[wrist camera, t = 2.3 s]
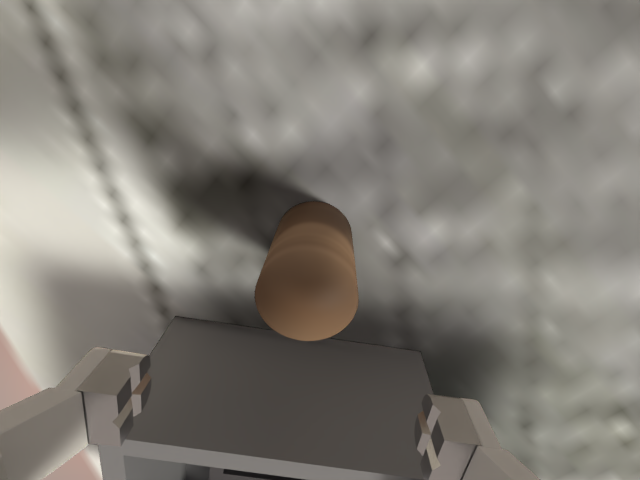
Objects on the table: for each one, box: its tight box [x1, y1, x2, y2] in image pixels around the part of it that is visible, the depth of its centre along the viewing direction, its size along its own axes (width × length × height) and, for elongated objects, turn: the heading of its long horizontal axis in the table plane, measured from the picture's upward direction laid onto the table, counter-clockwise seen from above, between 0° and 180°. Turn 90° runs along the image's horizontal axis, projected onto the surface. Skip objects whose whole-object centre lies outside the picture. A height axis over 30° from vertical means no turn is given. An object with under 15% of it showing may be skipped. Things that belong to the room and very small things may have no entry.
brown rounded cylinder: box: [255, 201, 358, 341], centre depth 17 cm, size 4×4×6 cm
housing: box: [98, 316, 434, 480], centre depth 22 cm, size 15×15×8 cm
